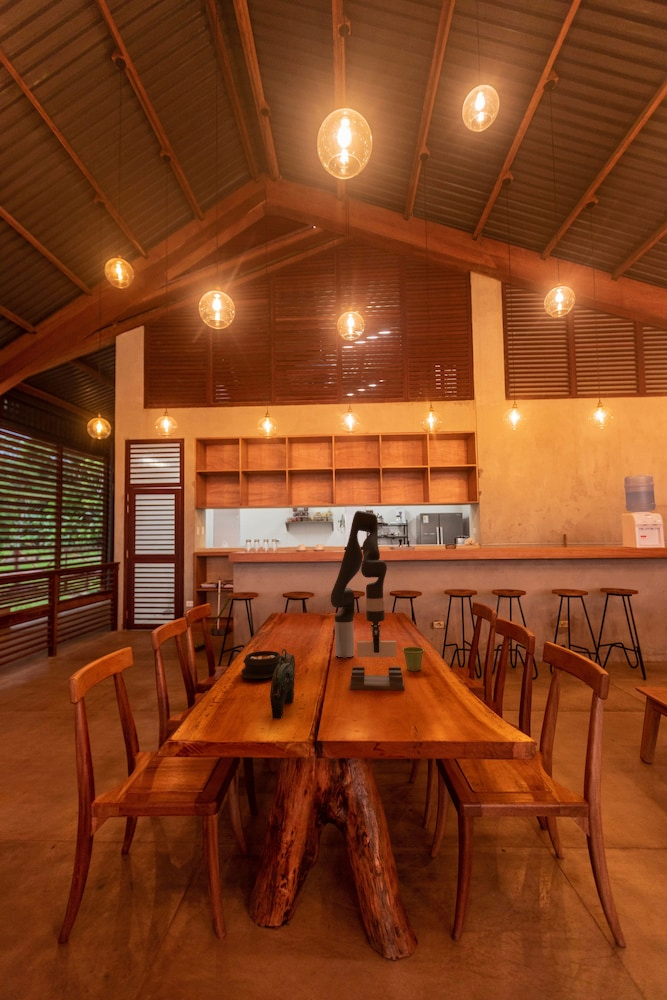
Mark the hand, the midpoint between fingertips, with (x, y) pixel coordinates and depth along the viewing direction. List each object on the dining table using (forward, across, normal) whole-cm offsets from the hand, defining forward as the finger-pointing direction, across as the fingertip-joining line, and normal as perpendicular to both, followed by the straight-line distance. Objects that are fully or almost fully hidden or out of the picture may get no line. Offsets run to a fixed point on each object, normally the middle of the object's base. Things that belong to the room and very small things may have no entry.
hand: (376, 651), depth 194 cm
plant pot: (+12, +18, -16) cm, 27 cm away
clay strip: (+2, 0, 0) cm, 2 cm away
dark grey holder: (+12, -4, 0) cm, 13 cm away
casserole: (+12, +10, +50) cm, 52 cm away
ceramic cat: (+12, -30, +33) cm, 46 cm away
